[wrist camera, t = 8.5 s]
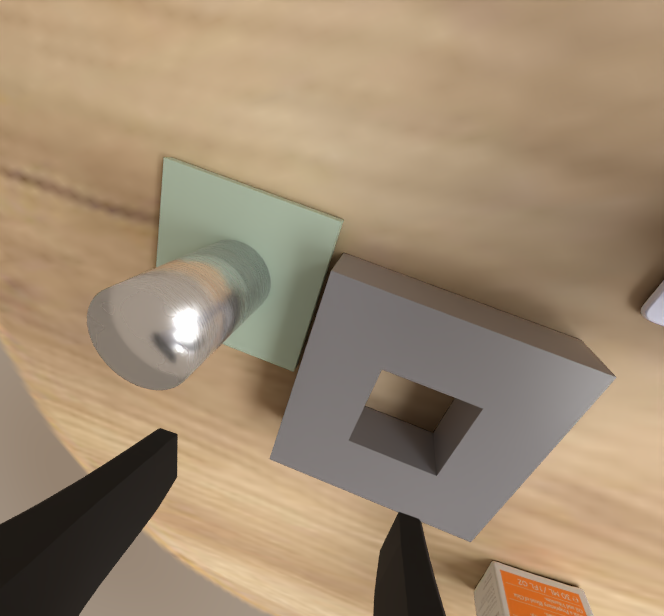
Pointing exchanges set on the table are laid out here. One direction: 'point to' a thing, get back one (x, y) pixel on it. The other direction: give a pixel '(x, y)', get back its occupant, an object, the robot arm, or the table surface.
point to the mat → (265, 238)
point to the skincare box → (526, 595)
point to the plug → (177, 313)
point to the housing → (441, 375)
